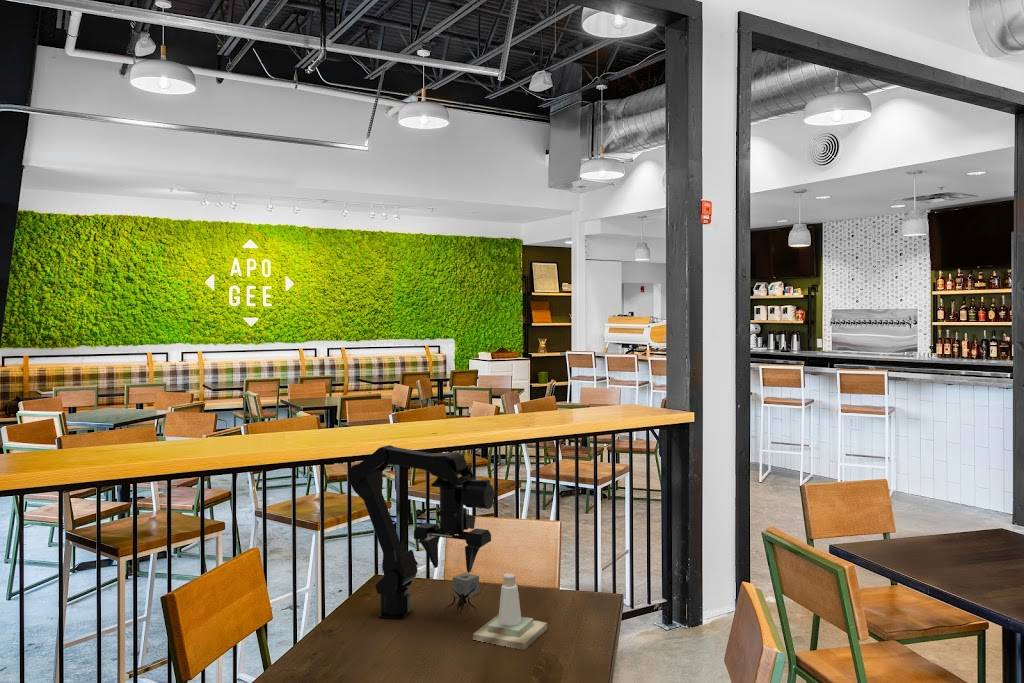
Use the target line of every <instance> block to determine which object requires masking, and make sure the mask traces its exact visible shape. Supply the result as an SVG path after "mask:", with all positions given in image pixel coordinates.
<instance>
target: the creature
mask: <svg viewBox="0 0 1024 683" xmlns="http://www.w3.org/2000/svg"><path fill="white" fill-rule="evenodd" d="M451 590H452V591H453V587H451ZM473 590H474V589H473ZM473 590H472V591H473ZM454 591H455V590H454ZM472 591H471V592H472ZM455 592H456V591H455ZM471 592H469V593H468V594H467V595H465V596H464V594H463V593H462V594H461V595H460V594H459V593H457V592H456V593H457V595H458V596H459V597H460V598H459V597H458V598H459V600H458V602H457V604H456V606H455V608H456V607H457V609H456V612H457V613H456V614H457V615H462V611H463V609H464V606H465V604H466V605H467V608H468V607H469V606H470V607H472V608H474V609H475V610H477V608H476V607H475V606H474V605H473V604H472V603H471V602H470V598H469V597H468V596H469V594H470V593H471ZM467 597H468V599H466V598H467ZM455 603H456V596H453V601H452V603H451V604H449V605H448V606H447V607H446V608H445V612H447V609H448V608H449V607H451V606H452V607H453V605H454V604H455ZM459 609H460V611H459ZM459 613H460V614H459Z"/></svg>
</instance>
